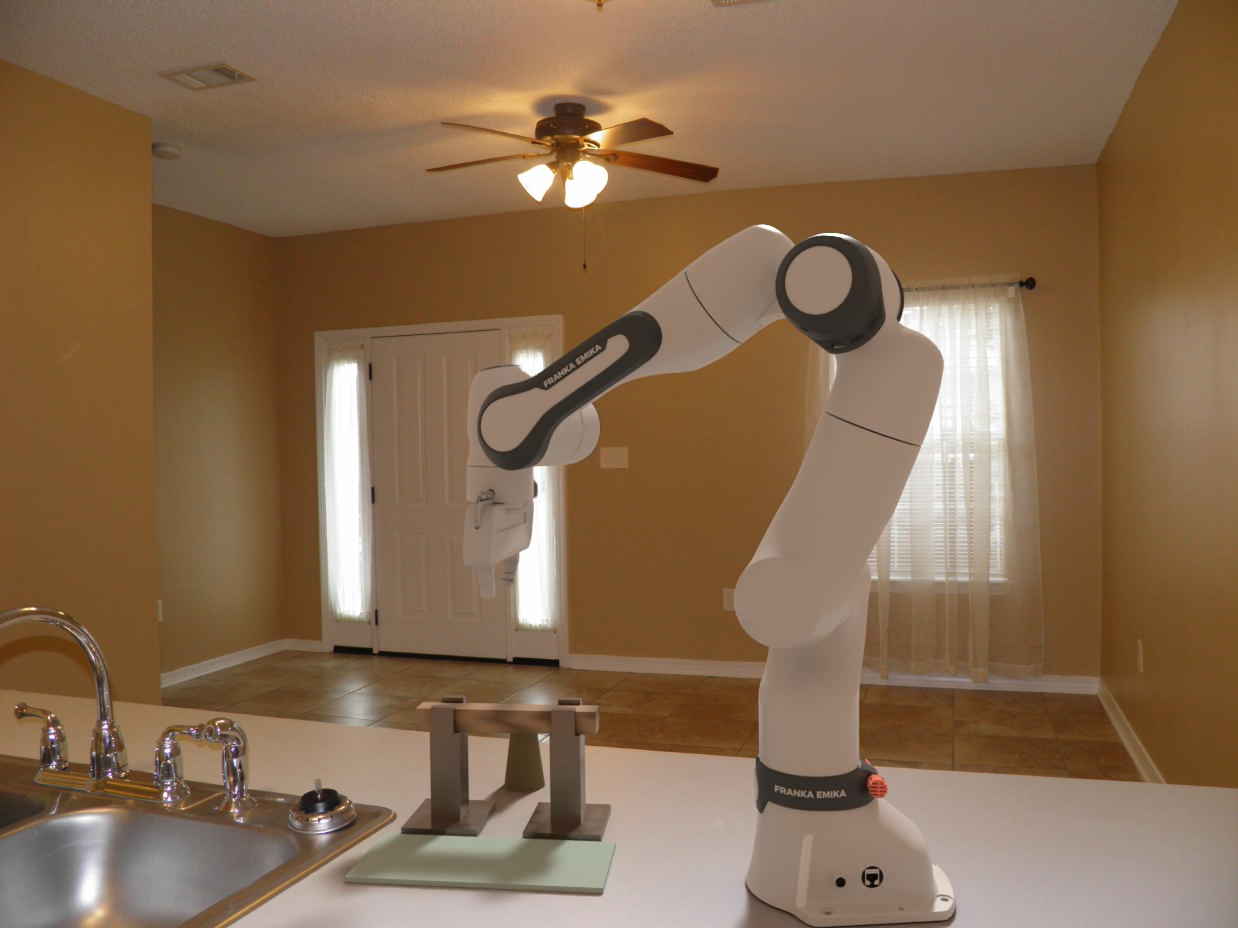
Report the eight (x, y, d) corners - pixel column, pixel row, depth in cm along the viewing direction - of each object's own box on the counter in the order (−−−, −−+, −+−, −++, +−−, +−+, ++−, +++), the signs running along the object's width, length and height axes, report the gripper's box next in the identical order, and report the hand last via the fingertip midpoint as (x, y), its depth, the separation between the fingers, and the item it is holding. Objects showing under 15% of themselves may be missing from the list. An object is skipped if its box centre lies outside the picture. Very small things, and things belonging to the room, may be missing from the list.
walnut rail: (599, 727, 122) (598, 705, 122) (595, 734, 119) (595, 711, 119) (423, 723, 125) (423, 701, 125) (416, 730, 122) (415, 708, 122)
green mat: (615, 846, 115) (615, 841, 115) (603, 893, 103) (602, 887, 103) (383, 837, 118) (383, 833, 118) (344, 881, 106) (344, 876, 106)
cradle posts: (610, 811, 126) (609, 694, 125) (601, 842, 116) (599, 715, 115) (426, 805, 129) (424, 690, 128) (401, 835, 119) (399, 711, 119)
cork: (525, 795, 132) (524, 718, 132) (495, 786, 136) (494, 712, 135) (553, 782, 137) (552, 709, 137) (523, 774, 140) (522, 702, 140)
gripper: (500, 493, 112) (499, 606, 112) (541, 484, 132) (539, 580, 132) (450, 492, 113) (449, 604, 113) (498, 483, 133) (497, 578, 133)
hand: (498, 591), depth 123 cm, fingers open, 8 cm apart
